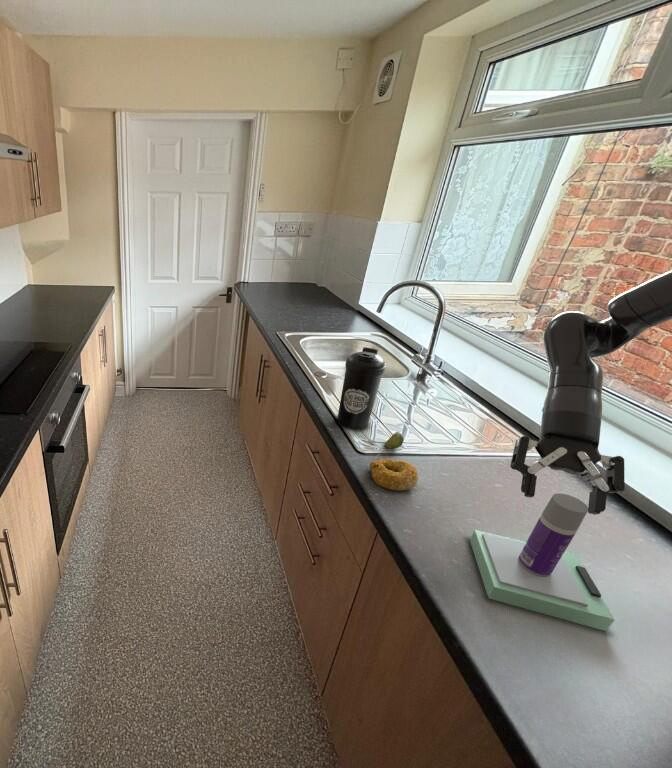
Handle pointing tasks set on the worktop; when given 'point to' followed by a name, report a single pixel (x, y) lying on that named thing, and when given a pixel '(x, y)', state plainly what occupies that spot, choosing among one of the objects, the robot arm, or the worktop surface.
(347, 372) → the water bottle
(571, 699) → the worktop surface
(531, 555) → the container
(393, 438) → the lime
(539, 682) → the worktop surface
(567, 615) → the scale
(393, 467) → the bagel
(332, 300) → the worktop surface
